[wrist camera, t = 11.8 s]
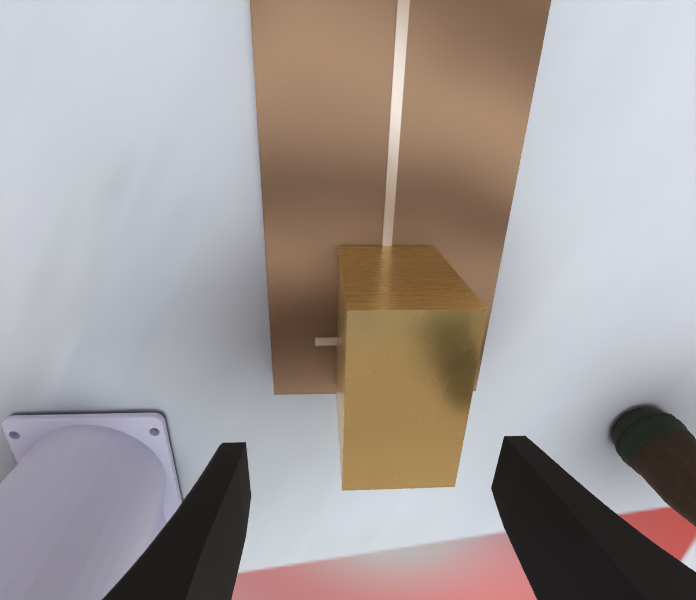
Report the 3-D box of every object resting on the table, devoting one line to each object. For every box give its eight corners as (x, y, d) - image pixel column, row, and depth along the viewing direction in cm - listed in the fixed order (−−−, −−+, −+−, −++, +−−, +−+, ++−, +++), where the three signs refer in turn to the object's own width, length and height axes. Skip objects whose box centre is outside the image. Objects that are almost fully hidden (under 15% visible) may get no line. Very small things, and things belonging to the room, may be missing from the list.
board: (465, 373, 22) (476, 392, 20) (277, 376, 21) (274, 395, 20) (541, -55, 14) (567, -75, 13) (251, -72, 13) (243, -94, 12)
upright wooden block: (417, 384, 20) (454, 486, 14) (336, 385, 20) (341, 490, 14) (434, 246, 17) (488, 309, 11) (338, 245, 17) (347, 310, 11)
